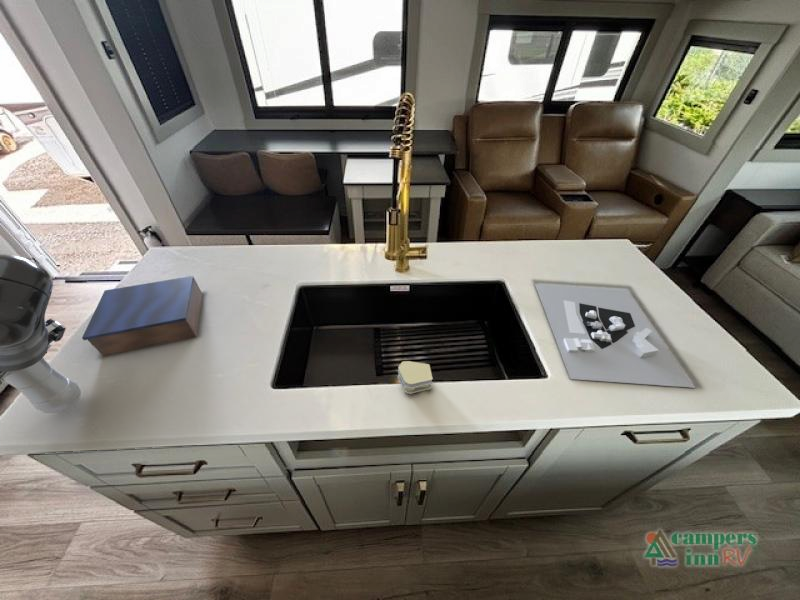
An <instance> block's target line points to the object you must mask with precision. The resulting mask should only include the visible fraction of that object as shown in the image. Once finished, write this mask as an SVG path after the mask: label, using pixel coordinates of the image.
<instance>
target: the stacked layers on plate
mask: <svg viewBox="0 0 800 600" xmlns="http://www.w3.org/2000/svg"><path fill="white" fill-rule="evenodd" d="M397 369H398V370H397V373H398V374H397V380H398V381H399V383H400V385H401V387H402V389H403V391H404V392H405V394H408V395H412V394H415V393H419V392H423V391H429V390H432V385H431V384H433V381H432V380H433V379H434V378H433V374H432V369H431V365H430V364H429V363H423V362H417V361H411V360H404V361H402V362H401V363H400V364H399V366H398V367H397Z"/></svg>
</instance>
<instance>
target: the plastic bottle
mask: <svg viewBox="0 0 800 600" xmlns="http://www.w3.org/2000/svg"><path fill="white" fill-rule="evenodd" d="M1 381H2V382H5V383H7V384H8V385H9V386H11V387H13V388H15V389H16V390H18V391H19V392H20V393H21V394H22V395H23V396H24V397H25V398H27V400H29V402H30V404H31V406H32V407H34V408H35V410H37V411H39V412H42V413H44V414H57V413H61V412H64V411H66V410H68V409H69V408H71V407H72V406H74V405H75V404H77V402H78V400H80V397H81V393H82V389H81V387H80V386H79V385H78V383H77V382H75V381H74V380H72V379H70V378H69V377H66V376H65V375H63V374H62V373H60V372H59V371H58V370H56V369H54V367H53V366H52V365H51V364H50V363H49V362H48V361H47V360H46V359H45V358H44V357H43V358H42V359H41V360H40V361H38V362H37V363H36V364H34V365H32V366H30V367H28V368H25V369H22V370H18V371H12V372H11V373H10V374H9V375H8V376H7V377H5V378H3V379H1Z"/></svg>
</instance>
